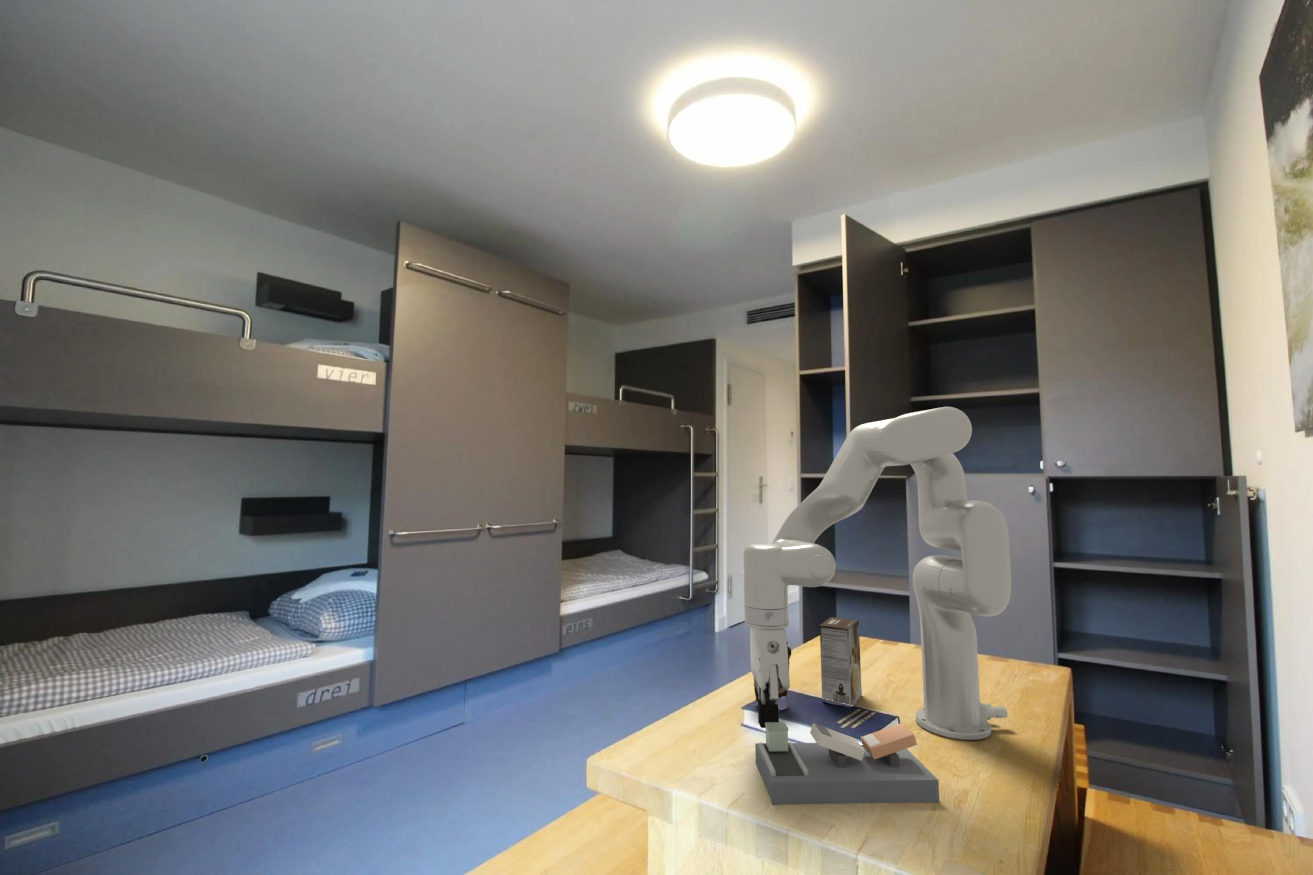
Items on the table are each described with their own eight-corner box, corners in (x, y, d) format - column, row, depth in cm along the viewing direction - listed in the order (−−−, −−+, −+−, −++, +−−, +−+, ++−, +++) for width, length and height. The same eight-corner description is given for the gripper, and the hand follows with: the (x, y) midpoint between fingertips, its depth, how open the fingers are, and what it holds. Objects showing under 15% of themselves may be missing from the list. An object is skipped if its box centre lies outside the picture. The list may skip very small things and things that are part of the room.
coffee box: (832, 689, 123) (830, 615, 124) (862, 695, 120) (859, 619, 121) (821, 702, 115) (819, 624, 117) (852, 709, 112) (850, 628, 113)
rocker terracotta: (904, 733, 87) (901, 722, 87) (917, 744, 83) (913, 733, 83) (863, 746, 87) (859, 735, 87) (874, 759, 83) (870, 747, 83)
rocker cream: (851, 748, 87) (855, 737, 87) (861, 760, 83) (865, 749, 83) (810, 732, 87) (813, 721, 87) (817, 744, 83) (821, 733, 83)
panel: (900, 760, 91) (899, 731, 91) (939, 801, 79) (937, 768, 79) (755, 762, 90) (755, 733, 90) (772, 803, 78) (771, 769, 79)
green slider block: (785, 744, 89) (784, 722, 89) (788, 751, 87) (788, 728, 87) (765, 744, 89) (765, 722, 89) (768, 751, 87) (768, 728, 87)
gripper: (799, 626, 88) (802, 745, 87) (777, 606, 103) (779, 708, 101) (753, 626, 88) (755, 746, 86) (737, 606, 103) (739, 708, 101)
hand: (768, 725), depth 94 cm, fingers closed
